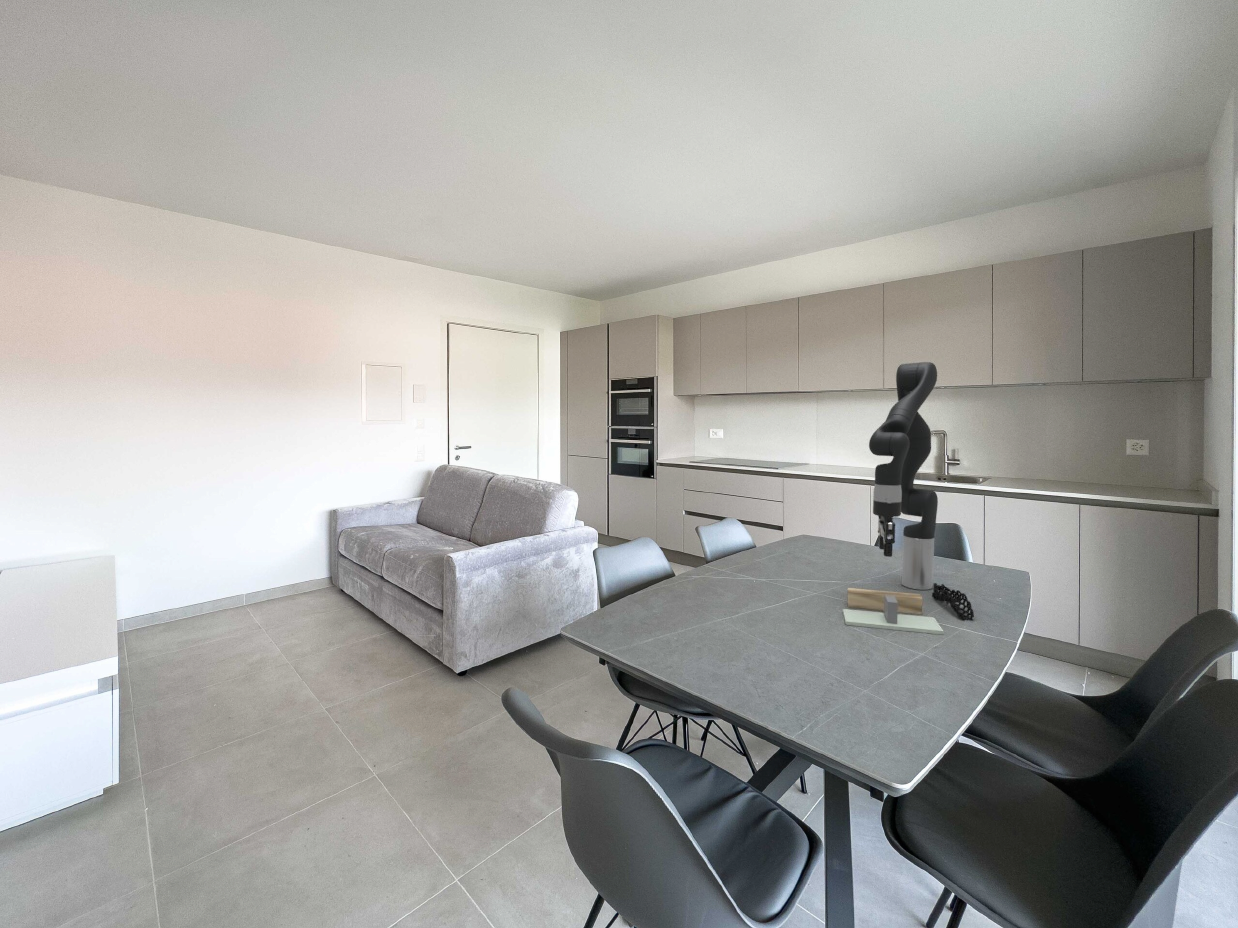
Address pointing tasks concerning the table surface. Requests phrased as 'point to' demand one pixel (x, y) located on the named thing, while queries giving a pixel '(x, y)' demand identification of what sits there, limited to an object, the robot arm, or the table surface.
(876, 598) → the plank
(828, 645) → the table surface
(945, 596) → the decorative element
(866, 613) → the fulcrum
